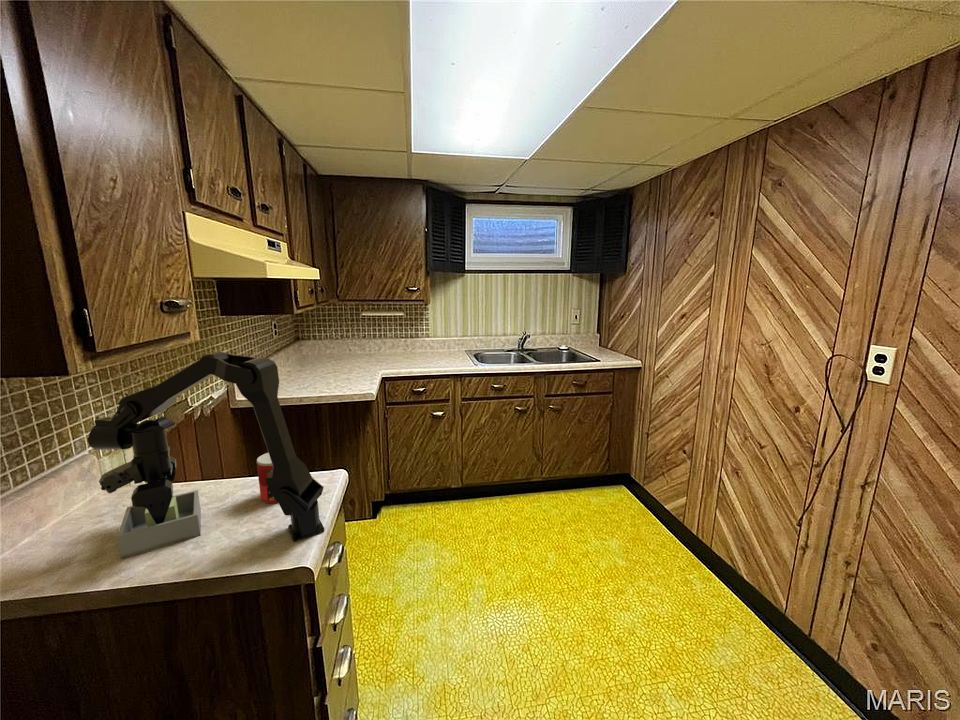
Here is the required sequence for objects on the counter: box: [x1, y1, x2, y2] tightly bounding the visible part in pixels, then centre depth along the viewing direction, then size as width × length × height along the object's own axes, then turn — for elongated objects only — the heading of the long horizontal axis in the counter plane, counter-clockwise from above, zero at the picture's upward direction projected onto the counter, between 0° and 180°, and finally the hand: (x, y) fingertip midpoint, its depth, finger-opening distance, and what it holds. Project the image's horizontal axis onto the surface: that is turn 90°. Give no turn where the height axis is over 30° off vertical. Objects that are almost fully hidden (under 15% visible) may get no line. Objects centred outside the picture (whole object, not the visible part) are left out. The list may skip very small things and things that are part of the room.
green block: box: [145, 495, 179, 527], centre depth 86 cm, size 5×5×6 cm
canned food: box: [256, 452, 278, 504], centre depth 100 cm, size 8×8×11 cm
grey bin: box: [116, 489, 202, 560], centre depth 86 cm, size 13×13×5 cm
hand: (162, 514), depth 86 cm, fingers open, 9 cm apart
